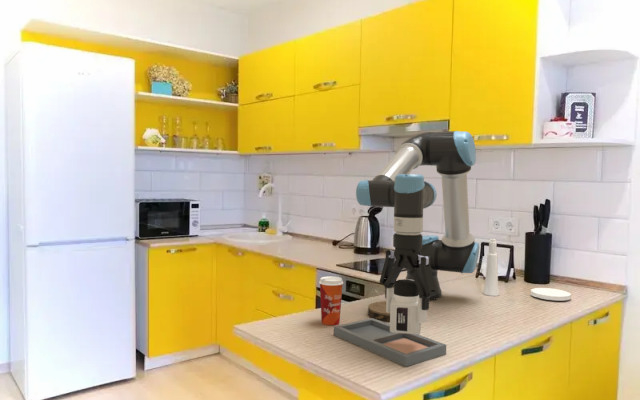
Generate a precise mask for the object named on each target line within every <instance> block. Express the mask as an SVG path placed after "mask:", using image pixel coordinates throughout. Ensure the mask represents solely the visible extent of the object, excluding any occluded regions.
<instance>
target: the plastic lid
mask: <svg viewBox="0 0 640 400" xmlns="http://www.w3.org/2000/svg"><path fill="white" fill-rule="evenodd" d="M530 295H531V296H533V297H535V298H537V299H542V300H547V301H561V302H562V301H563V302H564V301H569V300H571V297H572V294H571V293H570V292H569V291H566V290H563V289H558V288H549V287H534V288H531V289H530Z"/></svg>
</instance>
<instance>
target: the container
mask: <svg viewBox="0 0 640 400" xmlns="http://www.w3.org/2000/svg"><path fill="white" fill-rule="evenodd" d="M393 287H394V296H393V297H392V300H391V305H390V322H389V324H390V332H392V333H405V334H417V335H421V325H422V323H418V322H417V317H418V297H419V290H418V288H417V285H416V283H415V281H414V280H410V279H406V278H401V279H397V280H396V281H395V282H394V286H393Z"/></svg>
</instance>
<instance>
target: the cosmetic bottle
mask: <svg viewBox="0 0 640 400" xmlns="http://www.w3.org/2000/svg"><path fill="white" fill-rule="evenodd" d="M497 243H498V242H497V239H495V238H490V239H489V242H488V253H487V257H486V269H485V270H486V271H485V280H484V286H483V292H482V294H483V295H484V296H489V297H497V296H500V291H499V276H498V274H499V272H498V266H499V265H498V253H497Z"/></svg>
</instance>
